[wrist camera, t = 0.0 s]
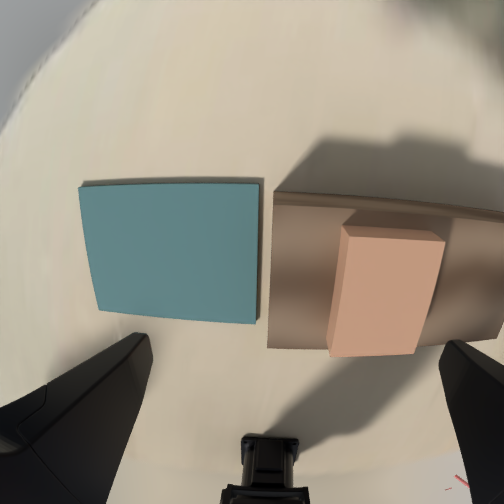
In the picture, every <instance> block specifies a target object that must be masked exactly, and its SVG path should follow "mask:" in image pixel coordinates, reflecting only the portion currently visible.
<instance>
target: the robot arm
mask: <svg viewBox="0 0 504 504" xmlns="http://www.w3.org/2000/svg"><path fill="white" fill-rule="evenodd" d="M152 363H153V354H152V349H151V344H150V340H149V336H148V335H147V334H145V333H138V332H134V333H132V334H130V335H129V336H127V337H125V338H124V339H122V340H120V341H119V342H117V343H115V344H114V345H112V346H110V347H108V348H107V349H105V350H103V351H102V352H100V353H98V354H96V355H95V356H93V357H91V358H90V359H88V360H86V361H85V362H83V363H81V364H79V365H78V366H76V367H74V368H73V369H71V370H69V371H67V372H66V373H64V374H62V375H61V376H59V377H57V378H55V379H54V380H52V381H50V382H48V383H47V385H43V386H41V387H40V388H38V389H36V390H35V391H33V392H31V393H29V394H27V395H25V396H24V397H22V398H20V399H17V400H15V401H13V402H11V403H9V404H7V405H5V406H3V407H0V504H106V502H107V499H108V496H109V493H110V490H111V487H112V484H113V481H114V478H115V476H116V472H117V470H118V467H119V464H120V462H121V459H122V456H123V453H124V451H125V448H126V445H127V442H128V440H129V437H130V434H131V432H132V429H133V426H134V424H135V421H136V418H137V416H138V413H139V411H140V408H141V405H142V401H143V398H144V394H145V390H146V386H147V382H148V378H149V374H150V370H151V367H152ZM439 371H440V375H441V379H442V384H443V388H444V392H445V397H446V402H447V406H448V409H449V413H450V416H451V419H452V423H453V426H454V429H455V433H456V436H457V440H458V443H459V447H460V451H461V454H462V458H463V462H464V466H465V470H466V475H467V479H468V484H469V488H470V493H471V498H472V503H473V504H504V365H502V364H500V363H499V362H497V361H495V360H494V359H492V358H490V357H489V356H487V355H485V354H484V353H482V352H480V351H479V350H477V349H475V348H474V347H472V346H470V345H469V344H467V343H465V342H464V341H462V340H460V339H454V340H449V341H448V342H447V343H446V345H445V347H444V350H443V352H442V355H441V357H440V360H439ZM298 445H299V440H298V439H273V438H251V437H243V438H242V439H241V461H242V465H243V474H242V483H241V486H237V485H233V484H228V485H227V488H226V489H223V490H222V494H221V500H220V504H310V499H309V491H308V487H300V488H293V466H294V462H295V458H296V454H297V450H298Z"/></svg>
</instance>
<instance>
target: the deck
mask: <svg viewBox="0 0 504 504" xmlns="http://www.w3.org/2000/svg"><path fill="white" fill-rule="evenodd" d="M342 225H348V226H366V227H382V228H398V229H412V230H426V231H432V232H433V233H435V234H436V235H437V236H439V237H440V238H441V239H442V240H444V241H445V247H444V252H443V256H442V260H441V265H440V269H439V273H438V277H437V281H436V285H435V288H434V292H433V296H432V299H431V303H430V306H429V309H428V313H427V316H426V319H425V322H424V325H423V328H422V332H421V334H420V337H419V340H418V343H417V346H431V345H443V344H446V343H447V342H448V341H449V340H454V339H460V340H462V341H464V342H473V341H481V340H489V339H497V336H498V334H499V332H500V329H501V327H502V325H503V322H504V213H503V212H497V211H490V210H483V209H476V208H469V207H461V206H453V205H445V204H437V203H428V202H418V201H409V200H398V199H387V198H376V197H363V196H350V195H335V194H319V193H300V192H276V191H274V194H273V224H272V250H271V274H270V297H269V318H268V340H267V348H277V349H328V345H327V340H326V336H327V330H328V324H329V318H330V312H331V305H332V299H333V292H334V285H335V278H336V270H337V263H338V255H339V246H340V237H341V228H342ZM417 346H416V347H417Z"/></svg>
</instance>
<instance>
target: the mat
mask: <svg viewBox="0 0 504 504" xmlns="http://www.w3.org/2000/svg"><path fill="white" fill-rule="evenodd" d="M78 191H79V201H80V209H81V217H82V224H83V231H84V238H85V244H86V250H87V256H88V261H89V267H90V272H91V277H92V282H93V286H94V291H95V296H96V300H97V304H98V308H99V310H101V311H109V312H117V313H125V314H134V315H143V316H152V317H162V318H173V319H184V320H196V321H209V322H224V323H240V324H256V297H257V254H258V208H259V184H251V183H151V184H121V185H100V186H83V187H79V188H78Z"/></svg>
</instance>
